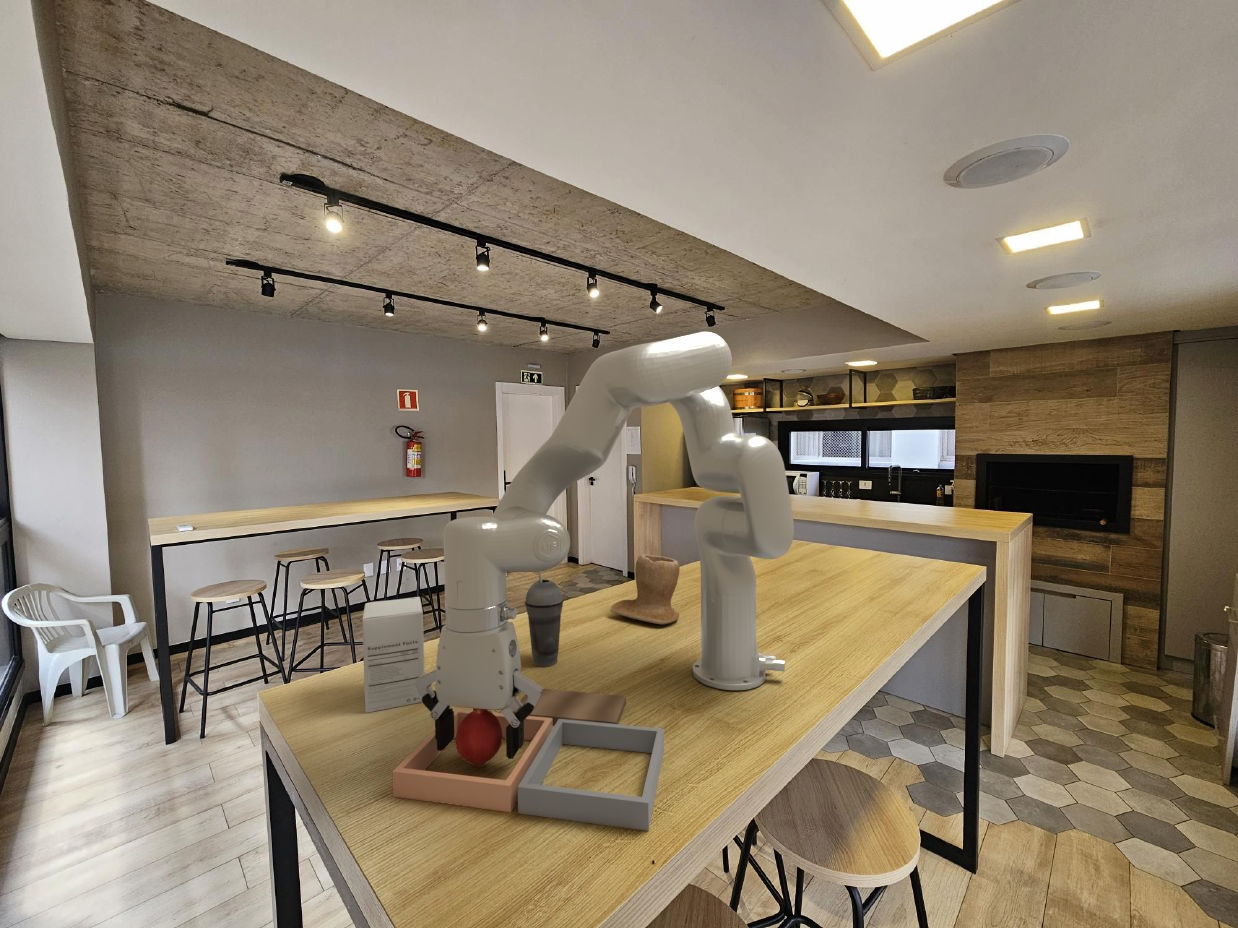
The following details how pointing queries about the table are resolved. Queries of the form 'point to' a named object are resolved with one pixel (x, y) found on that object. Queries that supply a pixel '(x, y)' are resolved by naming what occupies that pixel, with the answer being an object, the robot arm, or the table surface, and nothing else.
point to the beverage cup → (544, 620)
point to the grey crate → (593, 803)
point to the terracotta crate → (467, 788)
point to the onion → (479, 737)
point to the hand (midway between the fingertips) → (479, 748)
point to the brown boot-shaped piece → (652, 591)
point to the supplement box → (392, 653)
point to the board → (579, 706)
